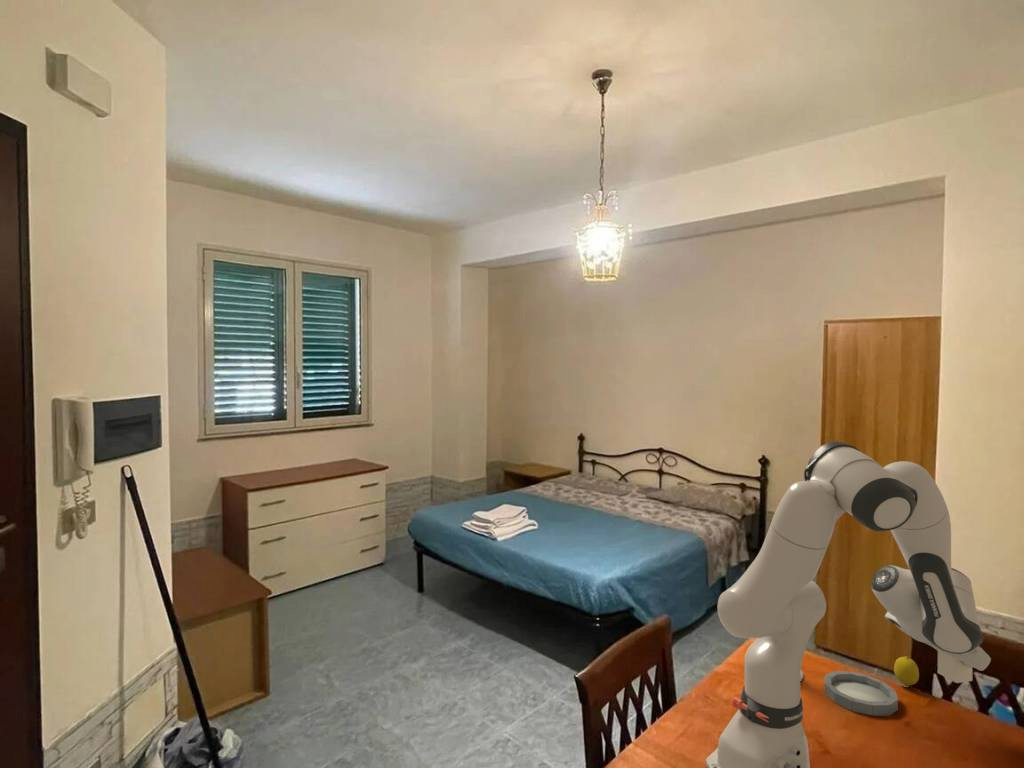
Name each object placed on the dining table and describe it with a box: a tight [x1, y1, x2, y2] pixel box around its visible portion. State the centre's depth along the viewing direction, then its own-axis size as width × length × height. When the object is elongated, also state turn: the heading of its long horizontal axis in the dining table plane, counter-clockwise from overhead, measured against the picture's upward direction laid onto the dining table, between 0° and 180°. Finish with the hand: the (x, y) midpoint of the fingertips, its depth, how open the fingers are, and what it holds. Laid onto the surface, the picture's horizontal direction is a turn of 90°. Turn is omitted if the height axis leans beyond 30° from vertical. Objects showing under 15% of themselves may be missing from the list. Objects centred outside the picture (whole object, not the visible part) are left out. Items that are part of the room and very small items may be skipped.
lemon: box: [893, 656, 920, 687], centre depth 151 cm, size 6×6×8 cm
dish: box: [823, 670, 899, 717], centre depth 146 cm, size 16×16×3 cm
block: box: [937, 650, 973, 684], centre depth 134 cm, size 5×5×8 cm
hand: (956, 658), depth 134 cm, fingers closed on block, 5 cm apart
